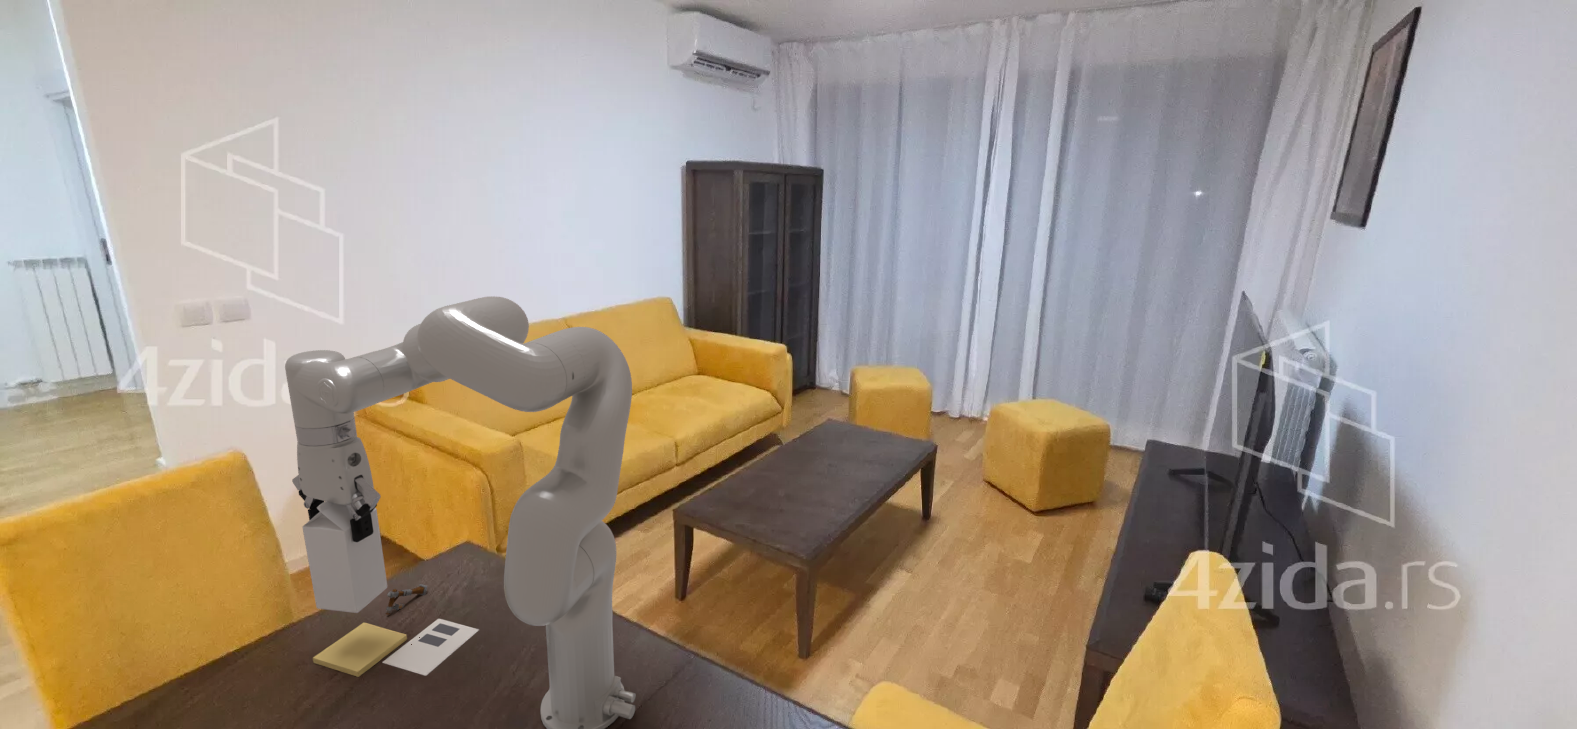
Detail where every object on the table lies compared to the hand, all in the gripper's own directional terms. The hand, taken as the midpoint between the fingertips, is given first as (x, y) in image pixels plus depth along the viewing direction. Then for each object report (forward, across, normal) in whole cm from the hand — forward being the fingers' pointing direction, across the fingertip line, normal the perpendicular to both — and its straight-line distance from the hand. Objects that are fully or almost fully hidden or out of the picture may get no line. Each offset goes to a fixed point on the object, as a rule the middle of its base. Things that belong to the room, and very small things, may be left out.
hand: (342, 532), depth 105 cm
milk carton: (+13, 0, 0) cm, 13 cm away
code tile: (+23, -10, -5) cm, 25 cm away
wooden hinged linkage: (+23, +3, -13) cm, 26 cm away
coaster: (+23, 0, 0) cm, 23 cm away
